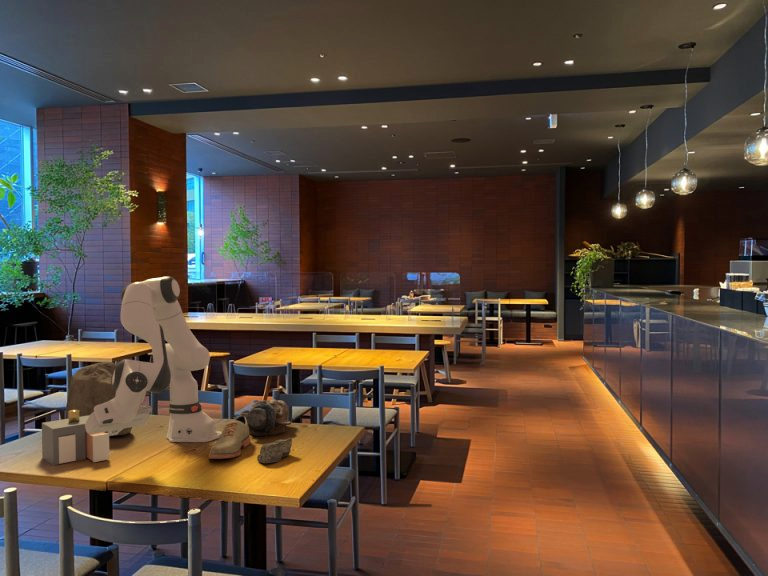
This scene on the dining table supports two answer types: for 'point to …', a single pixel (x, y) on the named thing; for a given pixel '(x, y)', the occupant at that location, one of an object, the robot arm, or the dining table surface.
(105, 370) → the stone
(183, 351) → the robot arm
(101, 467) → the dining table surface
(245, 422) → the oxford shoe
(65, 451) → the thin beige tile
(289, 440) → the rock
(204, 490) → the dining table surface
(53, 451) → the grey cabinet
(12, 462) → the dining table surface
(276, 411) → the sculpture
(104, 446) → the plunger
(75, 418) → the brass dial
